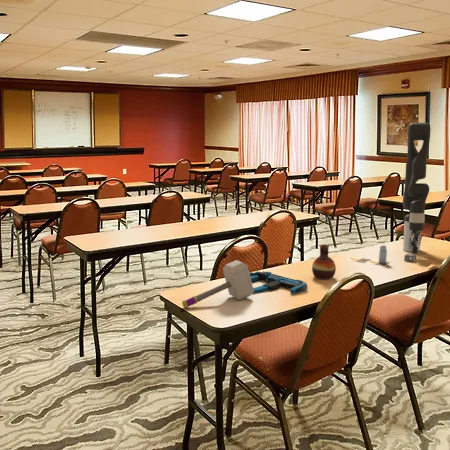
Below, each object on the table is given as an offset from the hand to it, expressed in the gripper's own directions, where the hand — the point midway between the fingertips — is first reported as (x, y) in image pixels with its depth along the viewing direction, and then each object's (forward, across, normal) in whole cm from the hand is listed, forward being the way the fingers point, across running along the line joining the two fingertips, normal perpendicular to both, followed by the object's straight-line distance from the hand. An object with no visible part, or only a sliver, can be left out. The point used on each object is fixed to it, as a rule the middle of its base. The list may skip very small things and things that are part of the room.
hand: (415, 253), depth 284 cm
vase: (+5, +58, -23) cm, 62 cm away
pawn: (+3, +20, -10) cm, 23 cm away
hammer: (+6, +117, -40) cm, 124 cm away
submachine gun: (+6, +85, -37) cm, 93 cm away
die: (+4, +6, 0) cm, 8 cm away
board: (+4, +20, -17) cm, 27 cm away
